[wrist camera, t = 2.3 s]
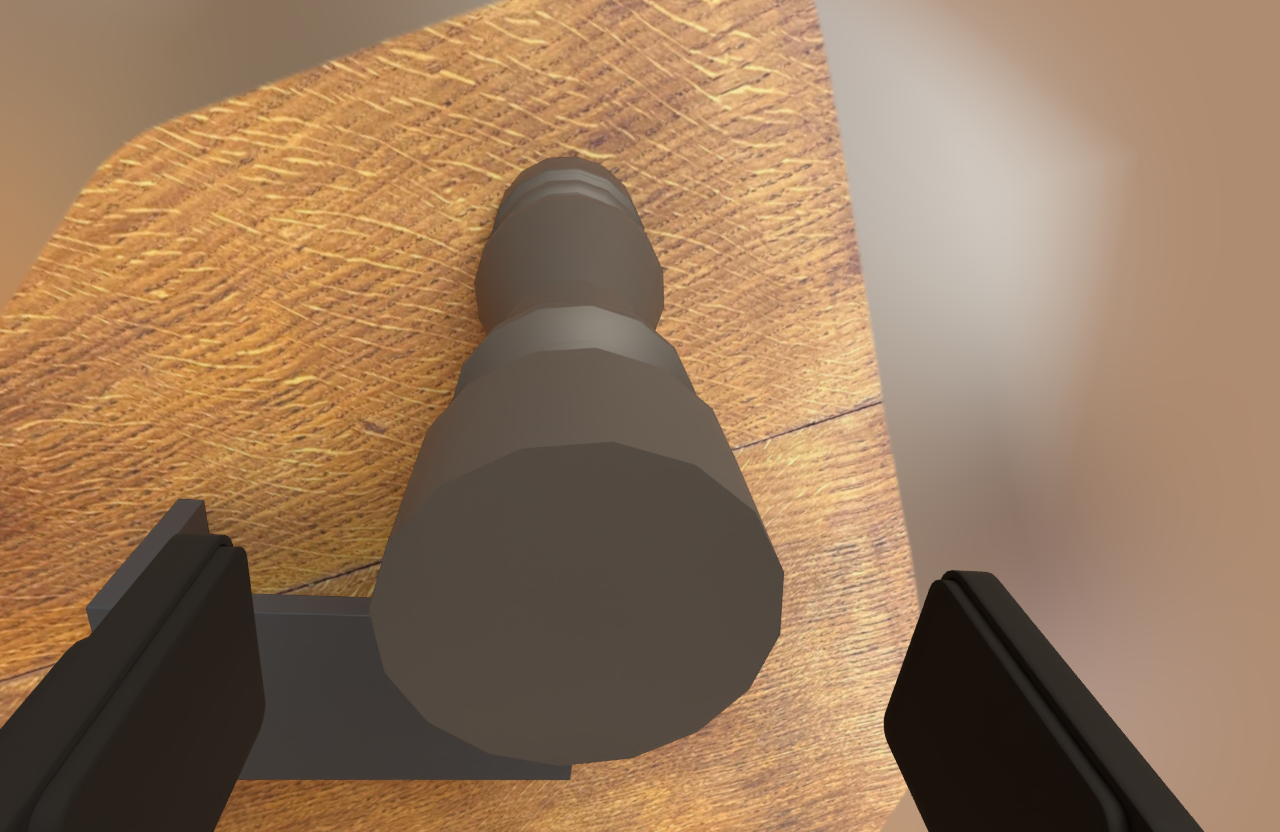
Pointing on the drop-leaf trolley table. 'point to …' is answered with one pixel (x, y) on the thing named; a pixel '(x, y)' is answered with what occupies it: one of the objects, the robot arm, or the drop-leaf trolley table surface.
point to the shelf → (328, 689)
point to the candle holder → (574, 507)
